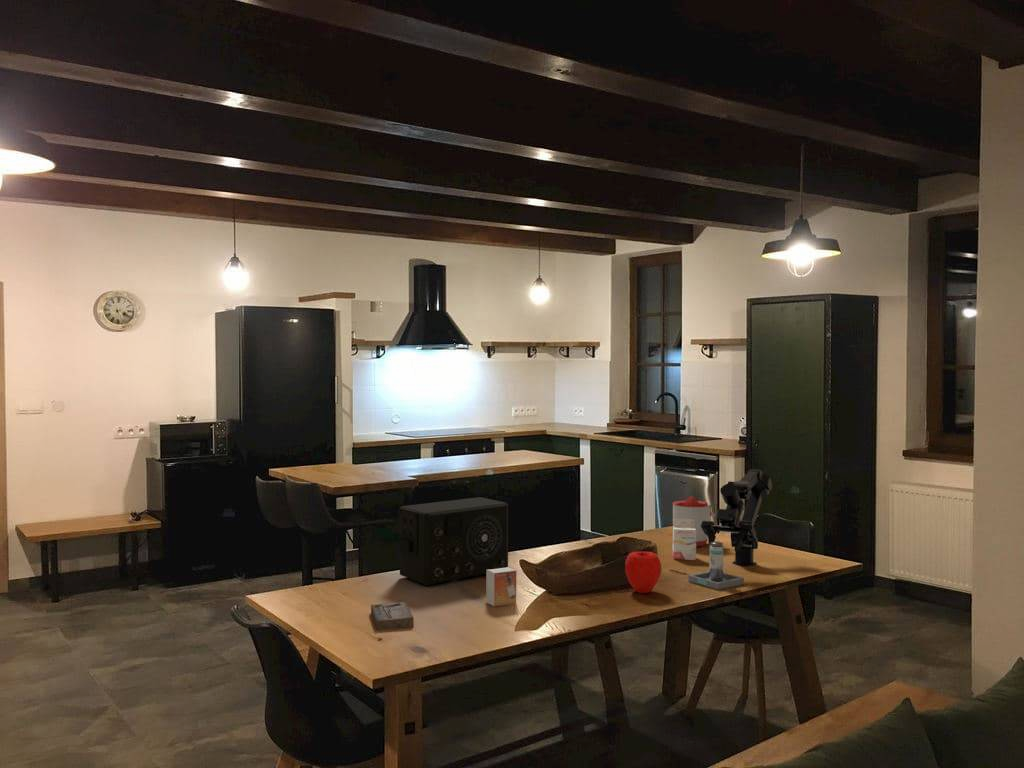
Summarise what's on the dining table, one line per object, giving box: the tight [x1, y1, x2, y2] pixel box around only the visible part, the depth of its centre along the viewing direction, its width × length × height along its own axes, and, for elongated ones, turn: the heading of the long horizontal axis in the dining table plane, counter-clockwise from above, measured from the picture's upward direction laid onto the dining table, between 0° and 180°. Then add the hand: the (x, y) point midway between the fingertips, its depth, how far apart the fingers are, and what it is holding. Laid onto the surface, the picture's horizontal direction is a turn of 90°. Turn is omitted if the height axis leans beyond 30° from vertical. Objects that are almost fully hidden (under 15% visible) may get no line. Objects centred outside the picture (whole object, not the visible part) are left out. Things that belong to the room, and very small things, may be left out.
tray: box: [687, 571, 745, 591], centre depth 295 cm, size 13×13×2 cm
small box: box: [485, 566, 517, 607], centre depth 270 cm, size 8×6×10 cm
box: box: [370, 601, 415, 631], centre depth 252 cm, size 11×17×3 cm, turn 15°
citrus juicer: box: [672, 495, 716, 547], centre depth 357 cm, size 16×17×20 cm
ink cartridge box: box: [671, 519, 697, 561], centre depth 331 cm, size 9×5×15 cm, turn 84°
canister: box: [708, 541, 725, 582], centre depth 295 cm, size 5×5×13 cm
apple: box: [624, 550, 662, 594], centre depth 284 cm, size 12×12×13 cm
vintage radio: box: [398, 496, 509, 587], centre depth 304 cm, size 38×20×25 cm, turn 128°
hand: (722, 549), depth 302 cm, fingers open, 9 cm apart
